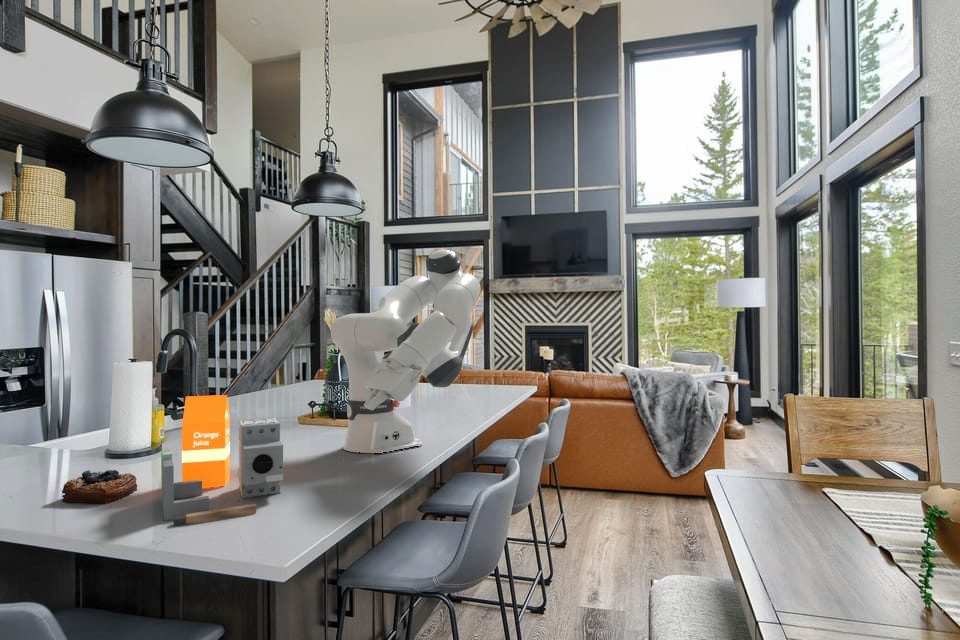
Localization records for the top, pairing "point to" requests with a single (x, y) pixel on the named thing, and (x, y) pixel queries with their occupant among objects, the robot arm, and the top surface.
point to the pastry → (99, 487)
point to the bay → (179, 492)
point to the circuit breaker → (260, 457)
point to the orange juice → (206, 440)
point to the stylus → (215, 514)
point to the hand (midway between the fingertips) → (367, 407)
